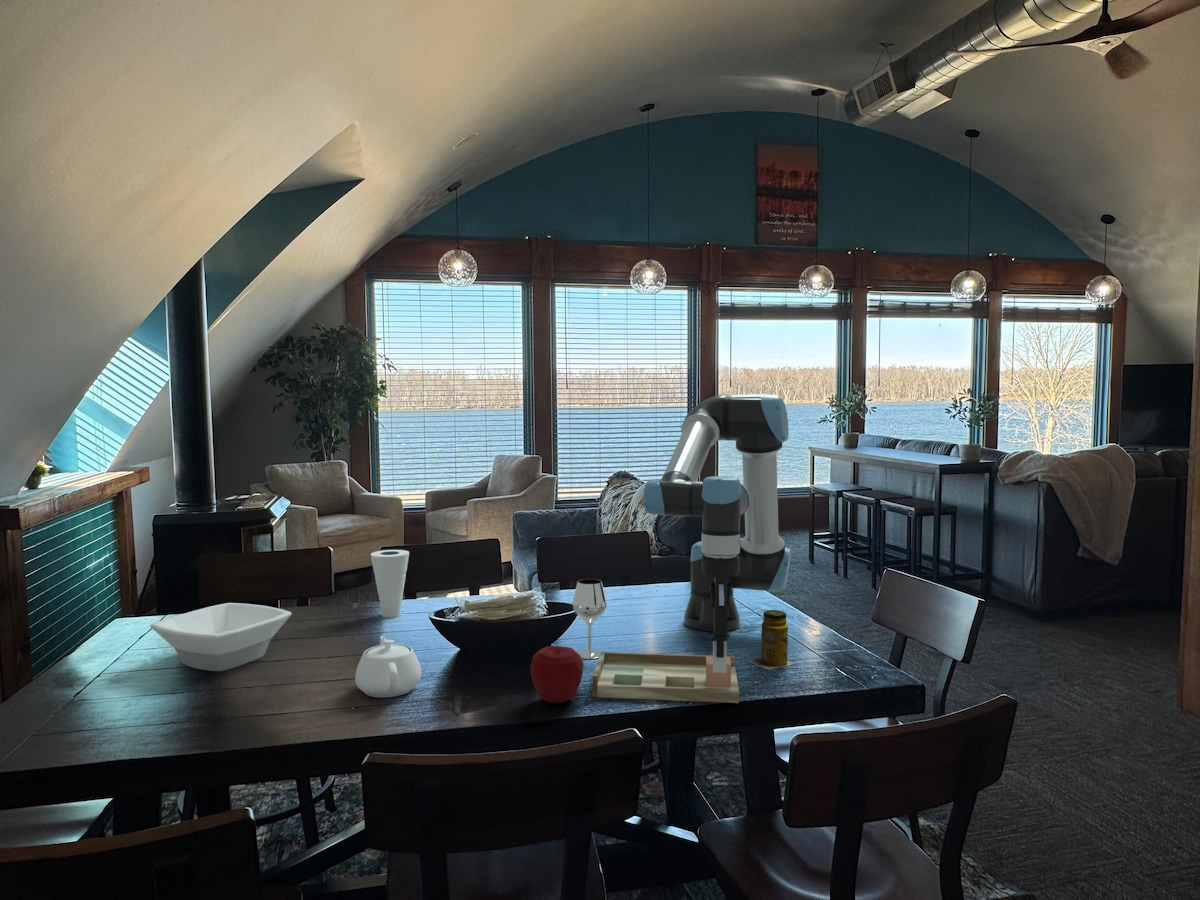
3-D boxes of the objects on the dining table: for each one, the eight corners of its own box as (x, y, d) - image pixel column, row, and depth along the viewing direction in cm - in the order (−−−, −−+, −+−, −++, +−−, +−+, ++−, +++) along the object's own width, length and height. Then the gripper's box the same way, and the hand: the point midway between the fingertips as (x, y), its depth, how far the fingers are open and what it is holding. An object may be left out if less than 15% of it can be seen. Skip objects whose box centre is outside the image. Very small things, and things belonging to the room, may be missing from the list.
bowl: (302, 651, 196) (301, 610, 195) (214, 684, 173) (213, 638, 173) (232, 639, 206) (230, 600, 206) (140, 669, 184) (138, 625, 183)
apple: (540, 714, 157) (539, 656, 156) (523, 696, 166) (522, 641, 166) (591, 706, 161) (591, 649, 160) (572, 688, 171) (572, 634, 170)
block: (706, 677, 170) (706, 656, 170) (729, 678, 170) (729, 657, 170) (706, 685, 166) (706, 664, 165) (730, 686, 165) (731, 665, 165)
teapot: (428, 702, 163) (428, 651, 162) (359, 712, 158) (358, 659, 157) (413, 668, 183) (412, 622, 183) (351, 676, 179) (350, 629, 178)
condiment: (795, 664, 187) (796, 613, 186) (769, 670, 182) (770, 619, 181) (772, 655, 193) (773, 606, 192) (746, 662, 188) (747, 612, 187)
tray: (601, 671, 182) (601, 651, 181) (734, 676, 178) (734, 656, 178) (592, 697, 166) (592, 675, 166) (738, 703, 162) (739, 681, 162)
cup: (404, 620, 223) (403, 556, 222) (367, 620, 223) (365, 556, 222) (414, 610, 234) (413, 549, 233) (378, 610, 234) (376, 549, 233)
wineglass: (611, 651, 196) (611, 579, 194) (600, 662, 188) (600, 586, 187) (579, 648, 198) (579, 576, 197) (567, 658, 191) (567, 584, 189)
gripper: (742, 561, 152) (740, 683, 153) (737, 549, 164) (736, 661, 166) (702, 560, 152) (701, 681, 154) (701, 548, 165) (700, 660, 167)
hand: (719, 671), depth 160 cm, fingers closed
